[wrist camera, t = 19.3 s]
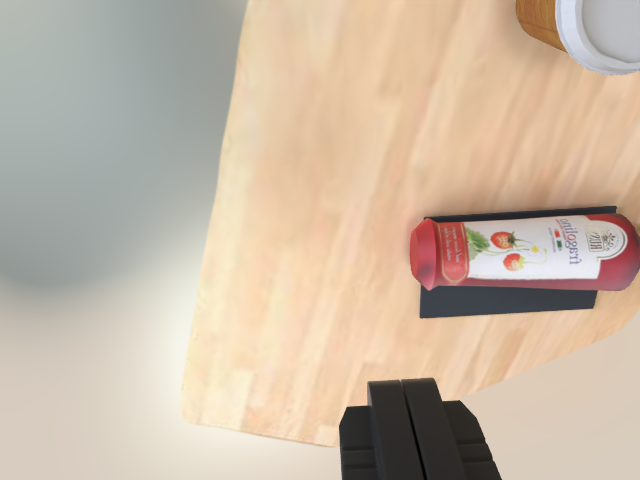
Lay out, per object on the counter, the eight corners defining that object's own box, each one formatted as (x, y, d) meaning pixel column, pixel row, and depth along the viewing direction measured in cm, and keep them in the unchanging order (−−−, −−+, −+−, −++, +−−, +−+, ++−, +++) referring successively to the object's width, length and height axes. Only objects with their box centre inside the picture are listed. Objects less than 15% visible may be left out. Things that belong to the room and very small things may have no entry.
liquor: (411, 302, 47) (698, 300, 46) (424, 277, 40) (760, 273, 40) (405, 235, 50) (674, 232, 49) (416, 201, 43) (728, 197, 43)
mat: (419, 316, 52) (420, 318, 52) (423, 217, 47) (424, 218, 47) (591, 307, 52) (593, 308, 52) (615, 205, 47) (617, 206, 47)
